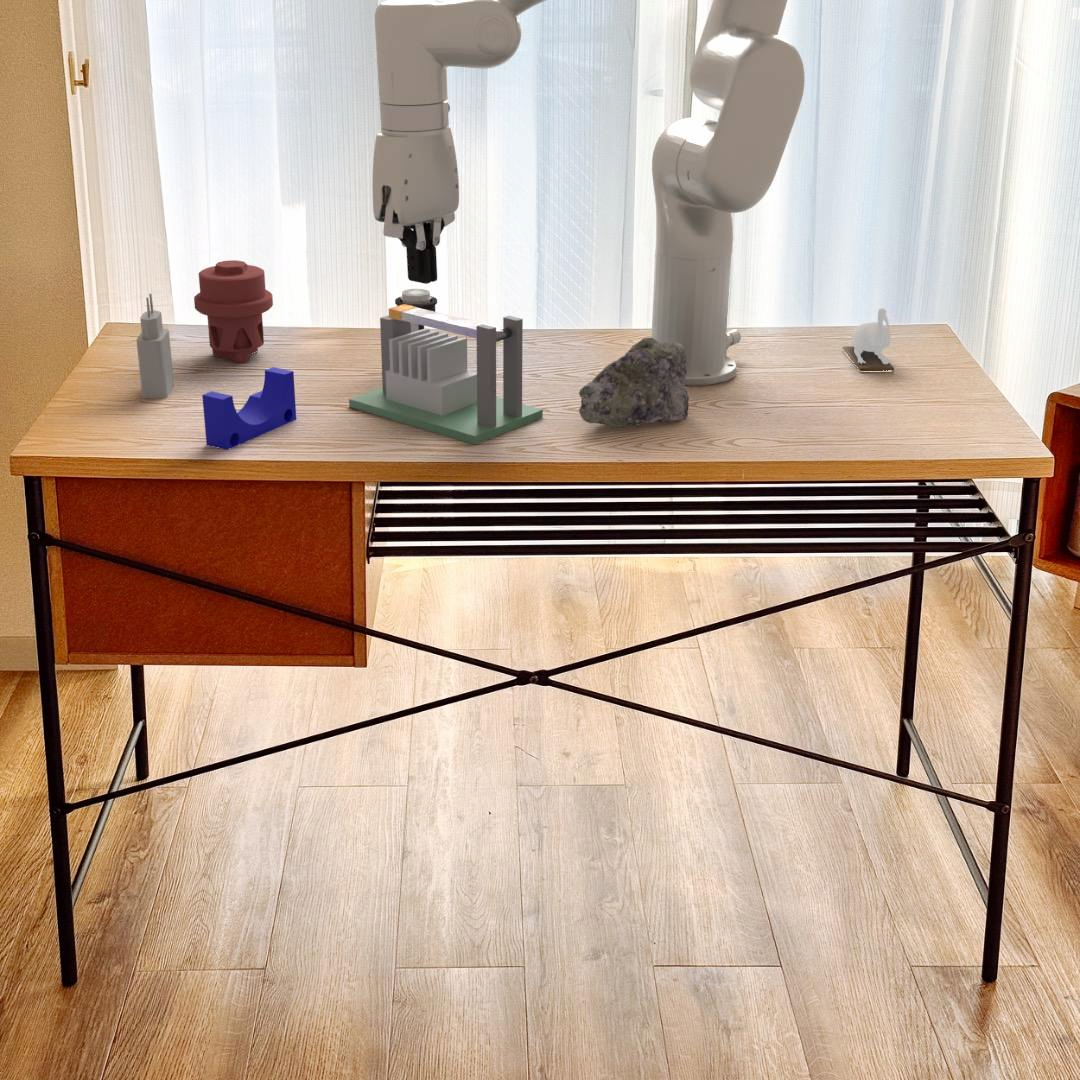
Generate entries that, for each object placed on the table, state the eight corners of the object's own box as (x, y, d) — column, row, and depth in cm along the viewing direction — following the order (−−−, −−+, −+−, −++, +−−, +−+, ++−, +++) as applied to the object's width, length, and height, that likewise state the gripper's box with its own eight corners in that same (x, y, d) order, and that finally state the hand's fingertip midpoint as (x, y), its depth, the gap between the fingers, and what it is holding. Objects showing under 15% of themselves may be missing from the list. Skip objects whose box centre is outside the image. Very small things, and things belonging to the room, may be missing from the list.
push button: (432, 378, 185) (430, 301, 181) (391, 376, 186) (388, 299, 182) (441, 363, 191) (440, 287, 187) (401, 361, 192) (399, 286, 188)
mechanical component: (183, 358, 192) (239, 340, 200) (236, 372, 187) (292, 354, 194) (174, 265, 187) (232, 251, 195) (229, 277, 182) (286, 262, 189)
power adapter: (141, 398, 177) (130, 301, 172) (149, 384, 182) (140, 289, 177) (167, 398, 177) (157, 301, 172) (175, 384, 182) (166, 289, 177)
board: (418, 383, 183) (415, 285, 178) (542, 417, 172) (543, 313, 167) (349, 406, 175) (344, 304, 170) (475, 444, 163) (474, 336, 158)
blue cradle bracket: (266, 413, 173) (263, 365, 170) (296, 420, 171) (293, 371, 168) (196, 443, 163) (191, 392, 161) (227, 451, 161) (223, 399, 159)
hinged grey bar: (404, 313, 174) (404, 303, 174) (511, 338, 165) (511, 328, 164) (388, 318, 172) (388, 308, 172) (495, 344, 163) (495, 333, 162)
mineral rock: (577, 435, 167) (579, 350, 163) (579, 404, 177) (580, 323, 173) (691, 437, 166) (696, 352, 162) (686, 407, 176) (690, 326, 172)
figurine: (902, 383, 186) (909, 317, 182) (867, 384, 186) (873, 317, 182) (874, 351, 199) (880, 288, 195) (841, 352, 198) (846, 289, 195)
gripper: (435, 106, 170) (442, 263, 177) (342, 124, 159) (353, 289, 167) (484, 112, 165) (489, 272, 173) (391, 130, 155) (401, 300, 162)
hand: (422, 280), depth 170 cm, fingers closed
